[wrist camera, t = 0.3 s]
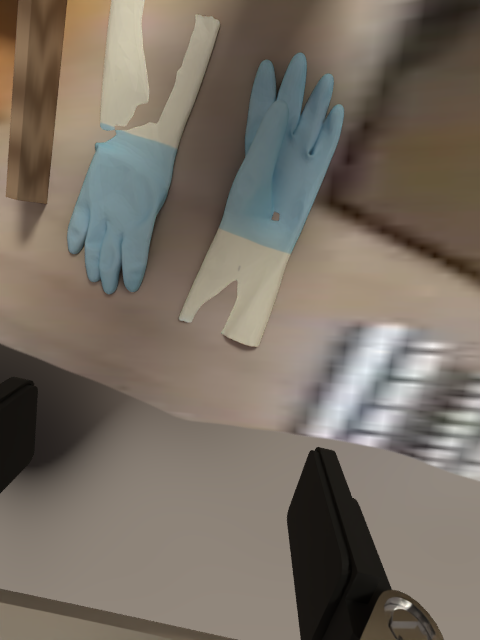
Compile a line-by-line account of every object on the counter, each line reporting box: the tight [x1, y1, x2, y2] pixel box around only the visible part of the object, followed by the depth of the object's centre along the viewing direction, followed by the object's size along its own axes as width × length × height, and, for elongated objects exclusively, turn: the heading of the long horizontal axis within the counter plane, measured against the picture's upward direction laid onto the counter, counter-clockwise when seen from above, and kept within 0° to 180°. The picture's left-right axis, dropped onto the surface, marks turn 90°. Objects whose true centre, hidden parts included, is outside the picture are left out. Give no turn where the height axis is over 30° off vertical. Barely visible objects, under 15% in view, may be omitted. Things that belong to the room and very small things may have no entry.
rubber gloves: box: [67, 0, 344, 347], centre depth 34 cm, size 27×33×6 cm
